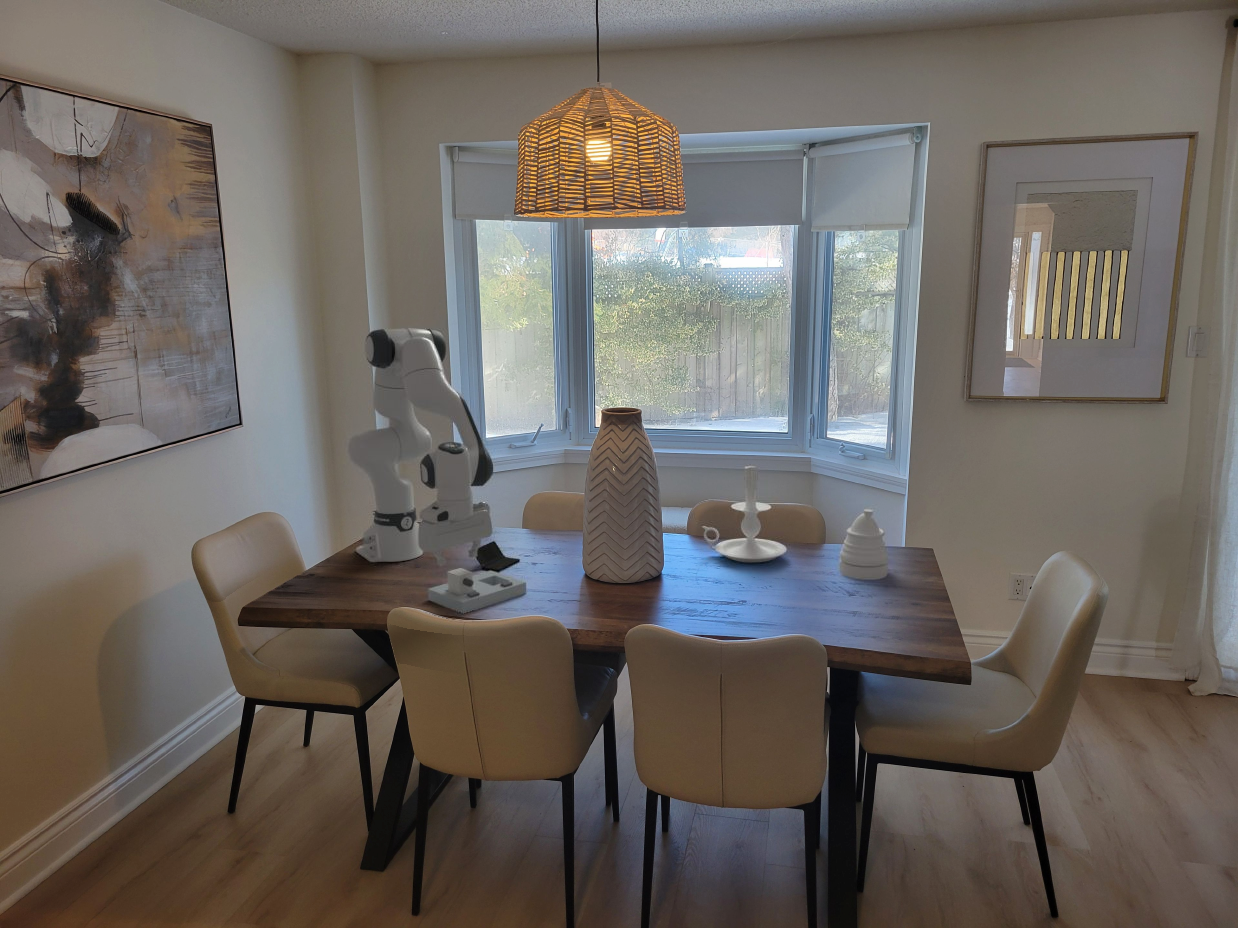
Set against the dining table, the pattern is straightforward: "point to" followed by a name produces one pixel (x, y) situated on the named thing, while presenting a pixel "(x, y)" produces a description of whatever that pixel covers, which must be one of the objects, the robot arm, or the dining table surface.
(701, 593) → the dining table surface
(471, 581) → the plug
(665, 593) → the dining table surface
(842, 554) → the honey pot
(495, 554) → the handheld gaming console
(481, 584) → the plate
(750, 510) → the candlestick
